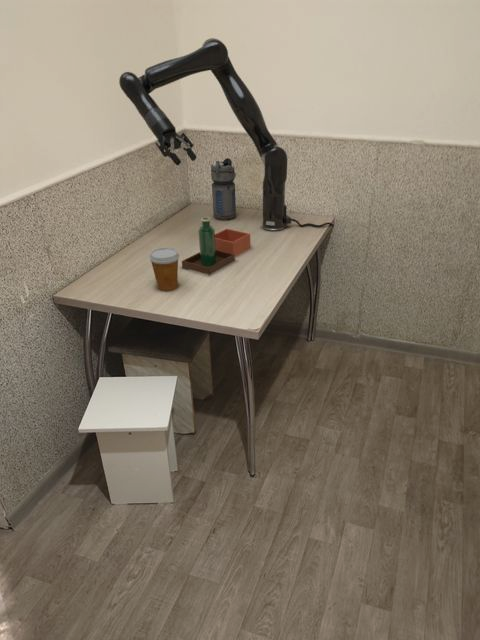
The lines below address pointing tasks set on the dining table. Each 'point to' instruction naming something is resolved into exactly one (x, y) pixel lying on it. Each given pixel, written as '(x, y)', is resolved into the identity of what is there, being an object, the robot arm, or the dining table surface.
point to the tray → (195, 265)
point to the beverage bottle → (223, 190)
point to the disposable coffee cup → (165, 267)
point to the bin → (232, 241)
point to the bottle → (207, 243)
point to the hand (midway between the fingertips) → (187, 161)
